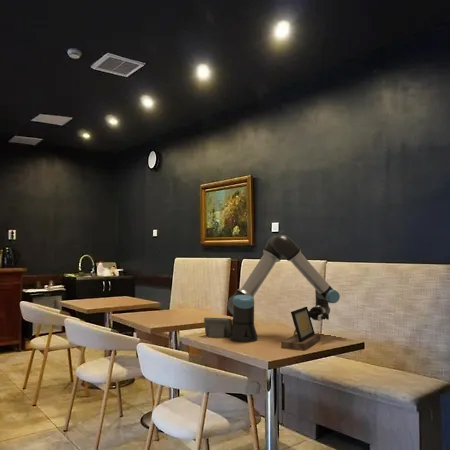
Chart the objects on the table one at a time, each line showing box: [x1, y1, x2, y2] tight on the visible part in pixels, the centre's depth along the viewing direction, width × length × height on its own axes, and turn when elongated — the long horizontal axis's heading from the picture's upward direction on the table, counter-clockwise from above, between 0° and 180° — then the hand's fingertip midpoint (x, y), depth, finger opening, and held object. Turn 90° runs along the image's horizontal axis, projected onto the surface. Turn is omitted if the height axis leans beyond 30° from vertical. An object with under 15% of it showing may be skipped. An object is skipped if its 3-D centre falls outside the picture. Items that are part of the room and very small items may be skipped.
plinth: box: [280, 333, 321, 351], centre depth 226 cm, size 12×28×3 cm, turn 152°
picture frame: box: [290, 306, 316, 342], centre depth 229 cm, size 23×9×15 cm, turn 152°
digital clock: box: [203, 317, 233, 339], centre depth 246 cm, size 16×9×11 cm, turn 64°
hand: (305, 317), depth 232 cm, fingers open, 13 cm apart
